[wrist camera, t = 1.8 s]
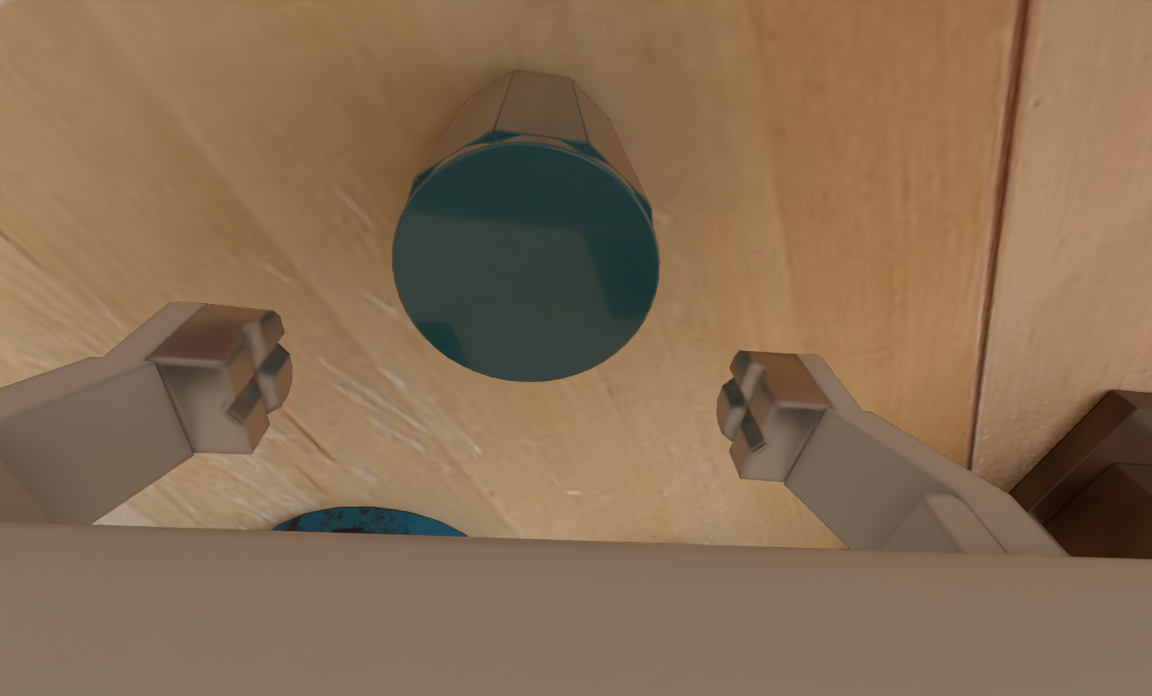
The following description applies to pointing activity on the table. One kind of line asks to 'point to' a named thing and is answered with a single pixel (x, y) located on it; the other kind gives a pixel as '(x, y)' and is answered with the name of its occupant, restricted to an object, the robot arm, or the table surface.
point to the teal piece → (527, 235)
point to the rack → (1098, 483)
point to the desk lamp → (368, 523)
